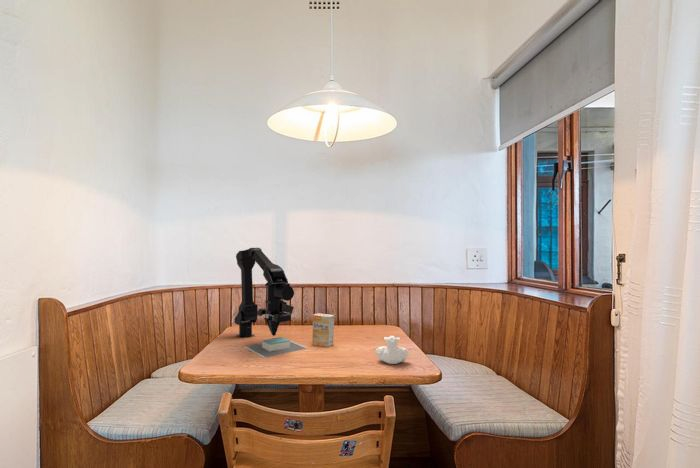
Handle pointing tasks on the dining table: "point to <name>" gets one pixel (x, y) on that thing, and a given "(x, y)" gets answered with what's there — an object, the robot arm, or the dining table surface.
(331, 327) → the supplement box
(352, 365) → the dining table surface
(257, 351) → the mat
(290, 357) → the dining table surface
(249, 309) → the robot arm
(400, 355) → the white animal figurine
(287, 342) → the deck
